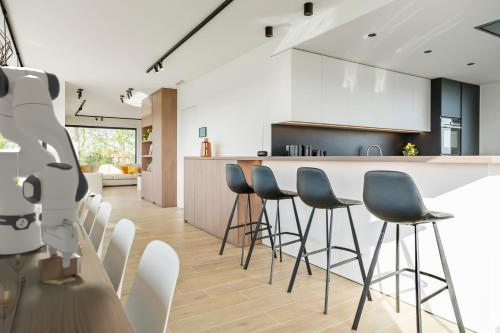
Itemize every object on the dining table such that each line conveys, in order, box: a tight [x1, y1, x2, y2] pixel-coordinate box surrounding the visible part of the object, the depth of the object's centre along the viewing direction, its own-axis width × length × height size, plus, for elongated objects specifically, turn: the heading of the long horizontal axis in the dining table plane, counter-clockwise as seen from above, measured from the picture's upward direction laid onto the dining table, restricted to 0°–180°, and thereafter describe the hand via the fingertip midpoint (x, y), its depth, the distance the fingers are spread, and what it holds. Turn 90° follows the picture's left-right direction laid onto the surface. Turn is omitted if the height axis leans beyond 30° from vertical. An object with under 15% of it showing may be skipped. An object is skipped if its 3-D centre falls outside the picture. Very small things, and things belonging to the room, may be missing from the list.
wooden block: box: [37, 253, 82, 281], centre depth 97 cm, size 5×5×10 cm
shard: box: [43, 274, 76, 286], centre depth 98 cm, size 11×8×2 cm
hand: (59, 263), depth 97 cm, fingers open, 8 cm apart
